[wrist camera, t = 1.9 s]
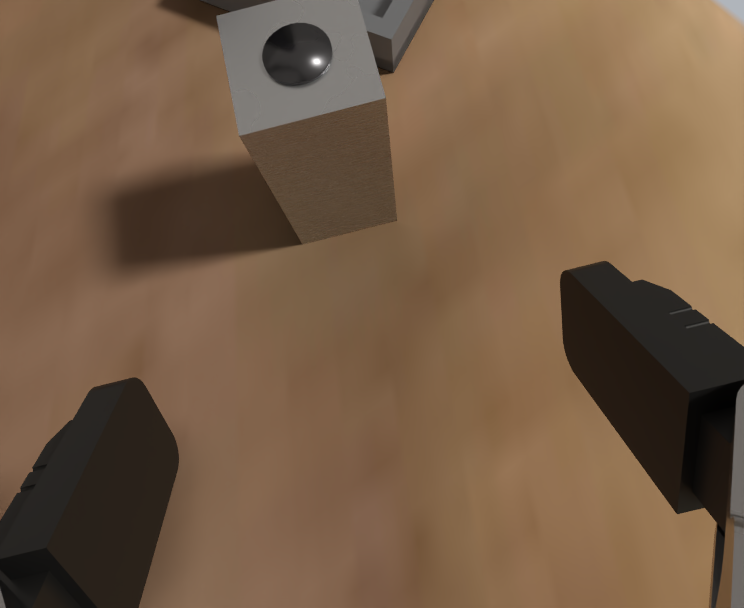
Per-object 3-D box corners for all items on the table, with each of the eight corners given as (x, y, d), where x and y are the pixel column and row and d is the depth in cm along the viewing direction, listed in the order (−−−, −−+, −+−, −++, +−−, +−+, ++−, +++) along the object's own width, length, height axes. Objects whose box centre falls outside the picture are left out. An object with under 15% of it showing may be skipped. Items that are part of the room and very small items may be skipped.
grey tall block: (302, 244, 27) (237, 133, 17) (284, 160, 28) (214, 12, 19) (397, 220, 27) (385, 95, 17) (374, 136, 28) (352, -24, 19)
